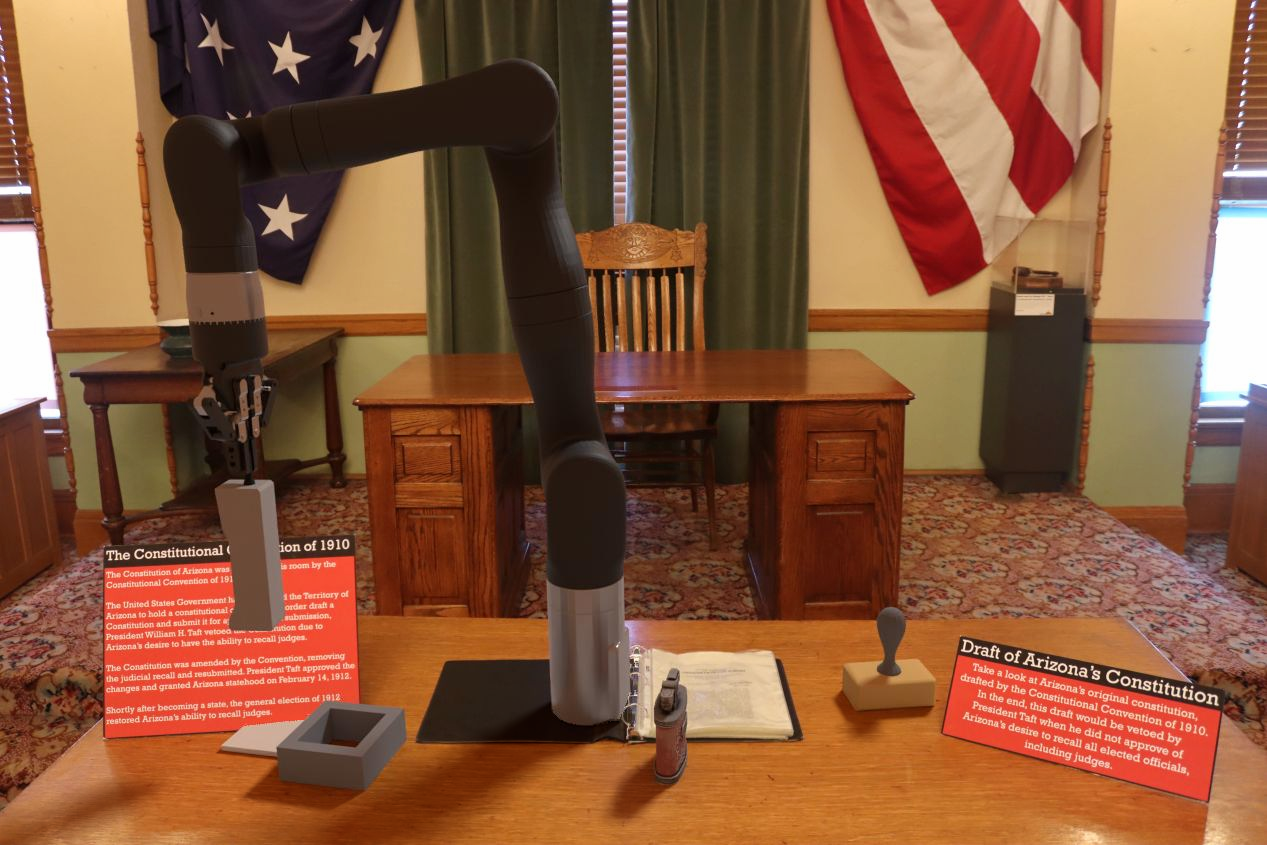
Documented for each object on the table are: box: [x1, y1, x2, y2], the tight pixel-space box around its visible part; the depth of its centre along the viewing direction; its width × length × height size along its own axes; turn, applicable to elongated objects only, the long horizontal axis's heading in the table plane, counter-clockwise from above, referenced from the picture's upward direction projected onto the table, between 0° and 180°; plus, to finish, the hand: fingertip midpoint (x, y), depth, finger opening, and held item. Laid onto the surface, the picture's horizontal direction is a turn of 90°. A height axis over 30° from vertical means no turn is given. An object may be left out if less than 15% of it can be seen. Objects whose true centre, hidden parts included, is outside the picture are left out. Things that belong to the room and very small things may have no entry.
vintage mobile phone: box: [214, 420, 286, 632], centre depth 103 cm, size 4×5×25 cm
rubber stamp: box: [841, 606, 937, 712], centre depth 114 cm, size 10×6×12 cm, turn 96°
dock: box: [276, 700, 408, 792], centre depth 103 cm, size 10×10×4 cm
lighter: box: [653, 667, 689, 786], centre depth 101 cm, size 8×3×10 cm, turn 168°
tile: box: [220, 720, 304, 758], centre depth 109 cm, size 8×8×1 cm
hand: (244, 472), depth 102 cm, fingers closed on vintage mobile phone, 1 cm apart
